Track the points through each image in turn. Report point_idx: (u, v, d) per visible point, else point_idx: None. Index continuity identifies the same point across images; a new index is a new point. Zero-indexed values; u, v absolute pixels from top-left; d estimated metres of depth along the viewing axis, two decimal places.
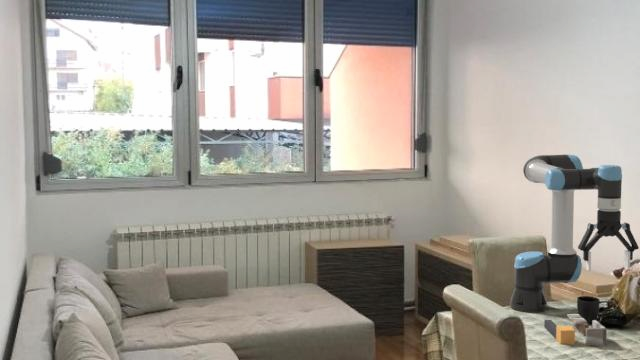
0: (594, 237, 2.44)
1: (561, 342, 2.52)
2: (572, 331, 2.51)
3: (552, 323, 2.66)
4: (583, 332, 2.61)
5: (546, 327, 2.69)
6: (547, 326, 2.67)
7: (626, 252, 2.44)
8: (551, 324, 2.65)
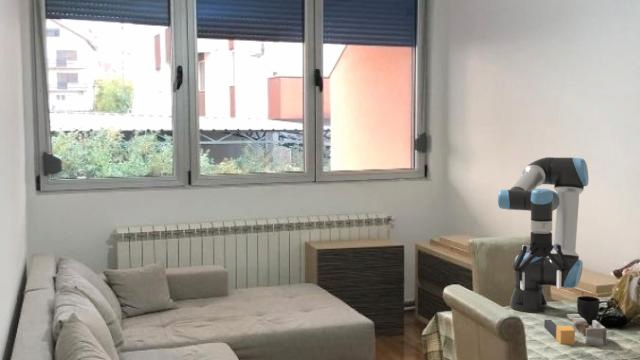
0: (527, 258, 2.55)
1: (561, 342, 2.52)
2: (572, 331, 2.51)
3: (552, 323, 2.66)
4: (583, 332, 2.61)
5: (546, 327, 2.69)
6: (547, 326, 2.67)
7: (558, 272, 2.56)
8: (551, 324, 2.65)
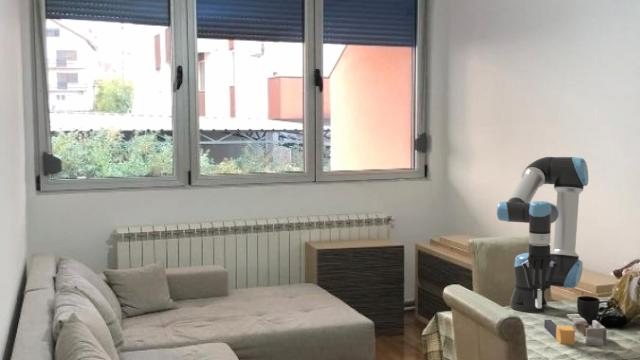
0: (533, 274, 2.56)
1: (561, 342, 2.52)
2: (572, 331, 2.51)
3: (552, 323, 2.66)
4: (583, 332, 2.61)
5: (546, 327, 2.69)
6: (547, 326, 2.67)
7: None
8: (551, 324, 2.65)
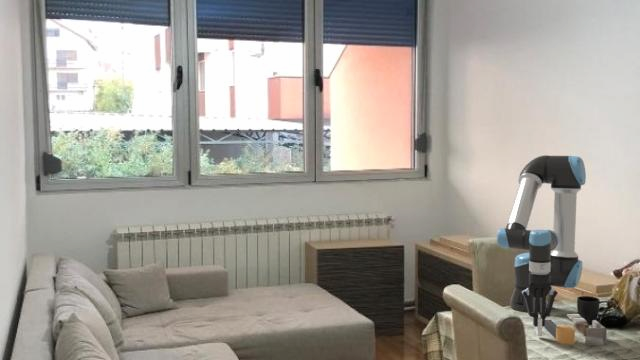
0: (534, 302, 2.57)
1: (561, 342, 2.52)
2: (572, 331, 2.51)
3: (552, 323, 2.66)
4: (583, 332, 2.61)
5: (546, 327, 2.69)
6: (547, 326, 2.67)
7: None
8: (551, 324, 2.65)
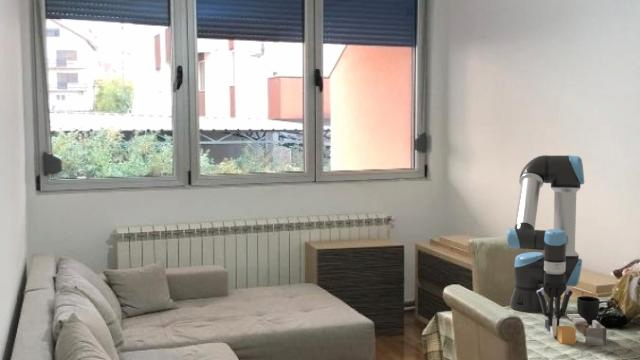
0: (548, 302, 2.57)
1: (562, 342, 2.52)
2: (573, 331, 2.51)
3: None
4: (583, 332, 2.61)
5: (546, 327, 2.69)
6: (548, 326, 2.67)
7: None
8: None
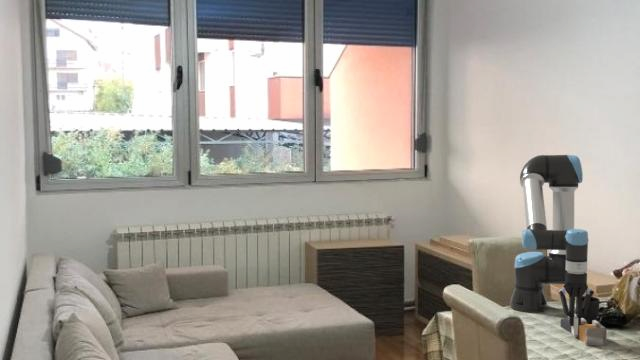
0: (570, 301, 2.57)
1: None
2: None
3: None
4: None
5: (563, 327, 2.69)
6: (565, 325, 2.67)
7: None
8: None
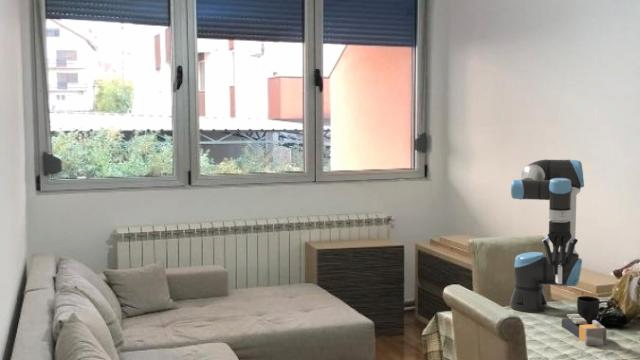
0: (554, 250, 2.58)
1: None
2: None
3: (571, 322, 2.67)
4: None
5: (564, 327, 2.69)
6: (566, 325, 2.67)
7: None
8: (571, 323, 2.66)
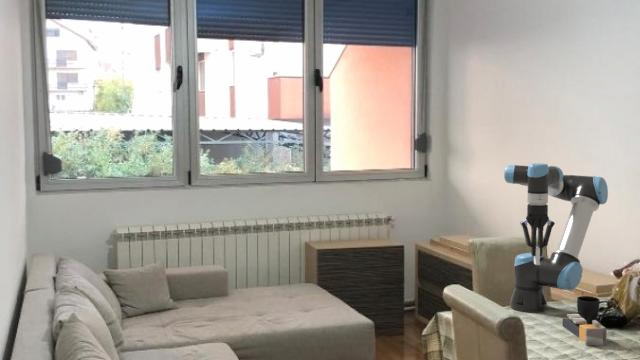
0: (532, 232, 2.69)
1: None
2: None
3: (572, 322, 2.67)
4: None
5: (565, 326, 2.69)
6: (567, 325, 2.67)
7: None
8: (571, 323, 2.66)
